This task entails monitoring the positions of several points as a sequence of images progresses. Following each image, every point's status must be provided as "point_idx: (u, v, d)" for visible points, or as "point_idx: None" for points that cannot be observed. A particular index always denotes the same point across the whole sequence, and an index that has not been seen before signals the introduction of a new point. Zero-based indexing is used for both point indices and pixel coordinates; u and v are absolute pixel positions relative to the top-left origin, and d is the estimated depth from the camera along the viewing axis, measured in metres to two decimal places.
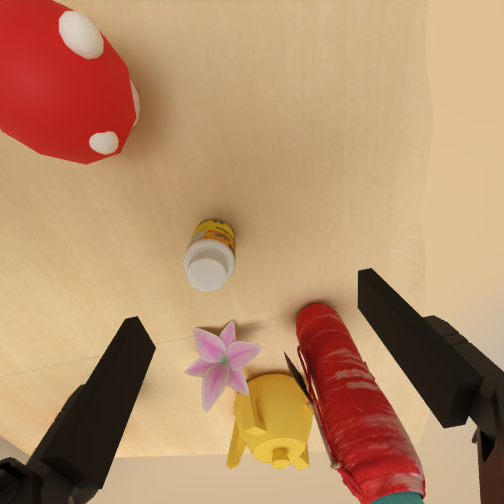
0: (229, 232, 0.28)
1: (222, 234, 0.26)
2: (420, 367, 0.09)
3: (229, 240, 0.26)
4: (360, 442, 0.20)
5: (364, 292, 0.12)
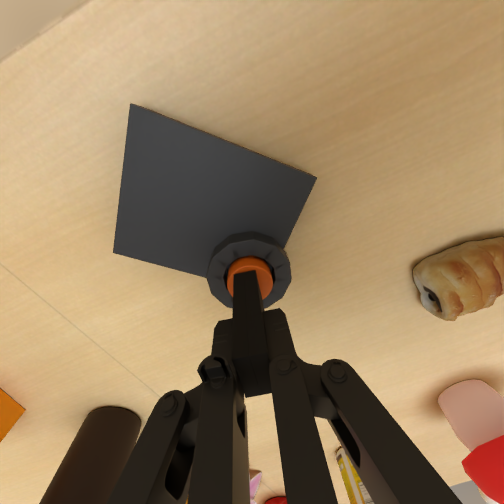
0: None
1: None
2: None
3: None
4: None
5: None
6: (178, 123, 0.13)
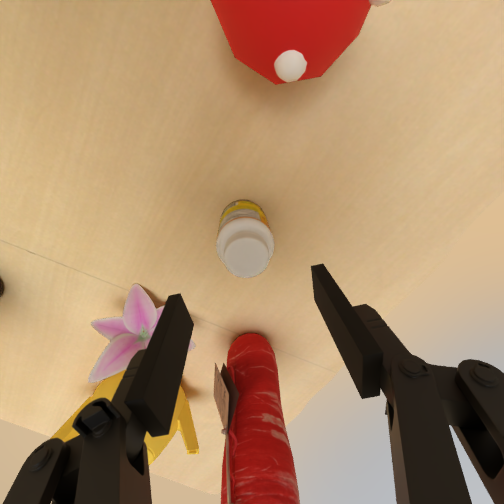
0: None
1: None
2: (346, 348, 0.10)
3: None
4: (267, 497, 0.20)
5: (316, 285, 0.14)
6: None
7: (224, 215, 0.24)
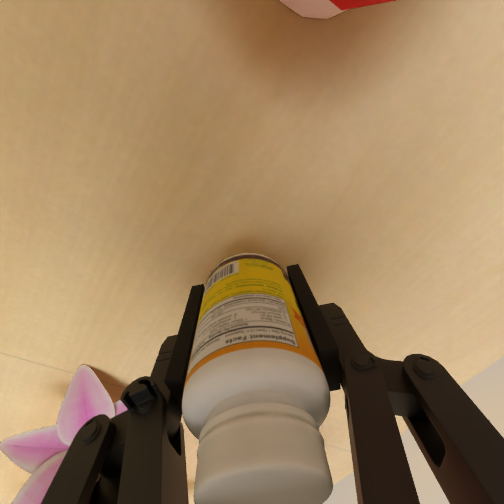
0: None
1: None
2: None
3: None
4: None
5: (291, 285, 0.14)
6: None
7: (208, 300, 0.11)
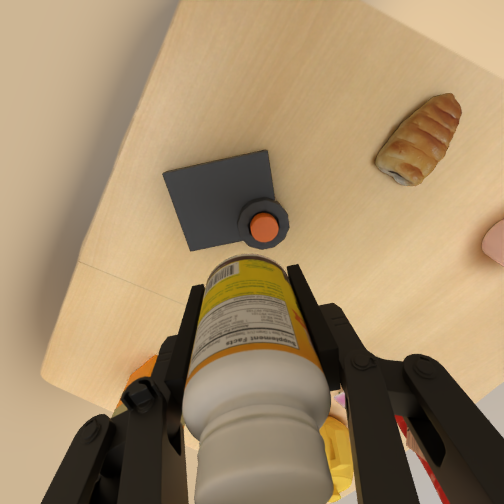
0: None
1: None
2: None
3: None
4: None
5: (291, 285, 0.14)
6: (185, 168, 0.25)
7: (209, 301, 0.11)
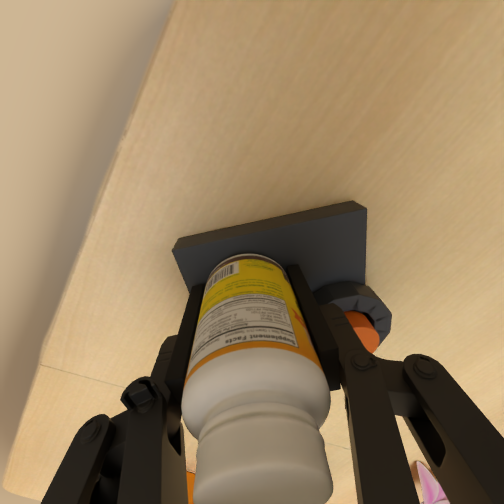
0: None
1: None
2: None
3: None
4: None
5: (291, 285, 0.14)
6: (215, 241, 0.14)
7: (209, 301, 0.11)
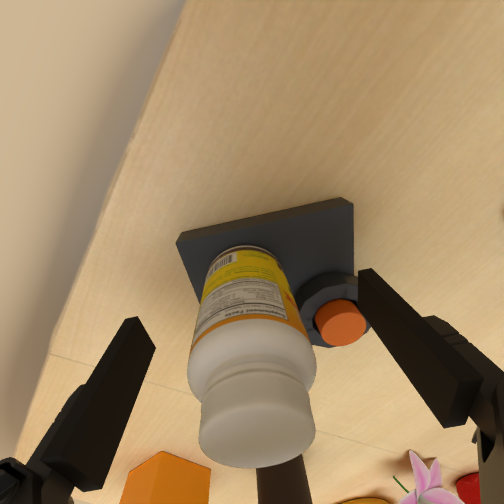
0: None
1: None
2: (420, 367, 0.09)
3: None
4: None
5: (364, 292, 0.12)
6: (215, 234, 0.15)
7: (210, 286, 0.12)
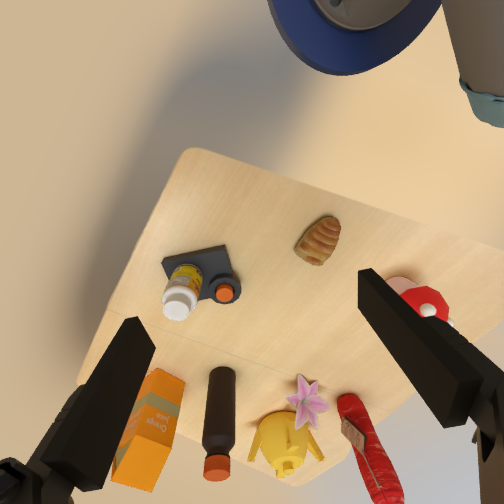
0: (200, 285, 0.41)
1: (198, 287, 0.39)
2: (420, 367, 0.09)
3: None
4: (390, 480, 0.49)
5: (364, 292, 0.12)
6: (175, 259, 0.42)
7: (170, 278, 0.39)
